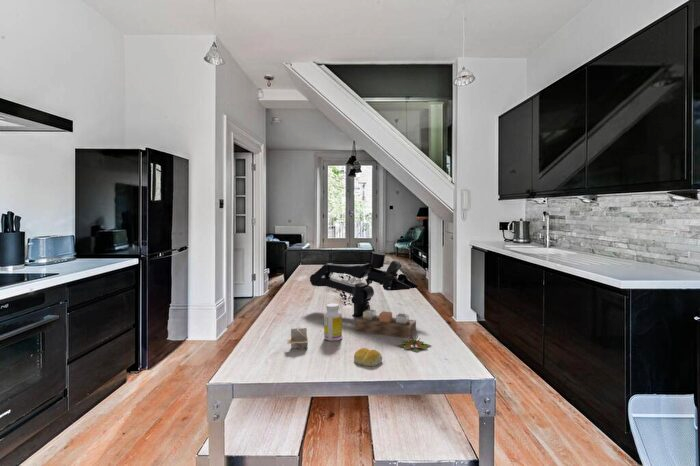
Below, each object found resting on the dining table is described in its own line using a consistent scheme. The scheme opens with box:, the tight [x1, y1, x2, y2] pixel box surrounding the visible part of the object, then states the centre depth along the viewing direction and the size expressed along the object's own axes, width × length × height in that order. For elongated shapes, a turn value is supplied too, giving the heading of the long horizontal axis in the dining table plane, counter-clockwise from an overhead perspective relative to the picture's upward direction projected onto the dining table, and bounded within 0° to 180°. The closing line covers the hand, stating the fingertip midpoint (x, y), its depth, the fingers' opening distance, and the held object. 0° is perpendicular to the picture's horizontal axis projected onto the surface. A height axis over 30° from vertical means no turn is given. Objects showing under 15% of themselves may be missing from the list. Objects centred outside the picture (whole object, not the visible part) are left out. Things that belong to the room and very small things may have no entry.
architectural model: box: [287, 327, 309, 350], centre depth 135 cm, size 3×7×7 cm, turn 98°
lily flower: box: [396, 334, 432, 353], centre depth 138 cm, size 12×12×5 cm
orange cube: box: [378, 311, 393, 323], centre depth 155 cm, size 4×4×4 cm
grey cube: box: [363, 309, 377, 321], centre depth 158 cm, size 4×4×4 cm
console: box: [355, 314, 417, 339], centre depth 155 cm, size 22×10×4 cm, turn 65°
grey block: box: [395, 313, 410, 325], centre depth 152 cm, size 4×4×4 cm
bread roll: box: [353, 347, 383, 367], centre depth 125 cm, size 8×9×4 cm
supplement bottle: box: [323, 303, 343, 342], centre depth 146 cm, size 7×7×13 cm
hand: (413, 287), depth 162 cm, fingers open, 9 cm apart
